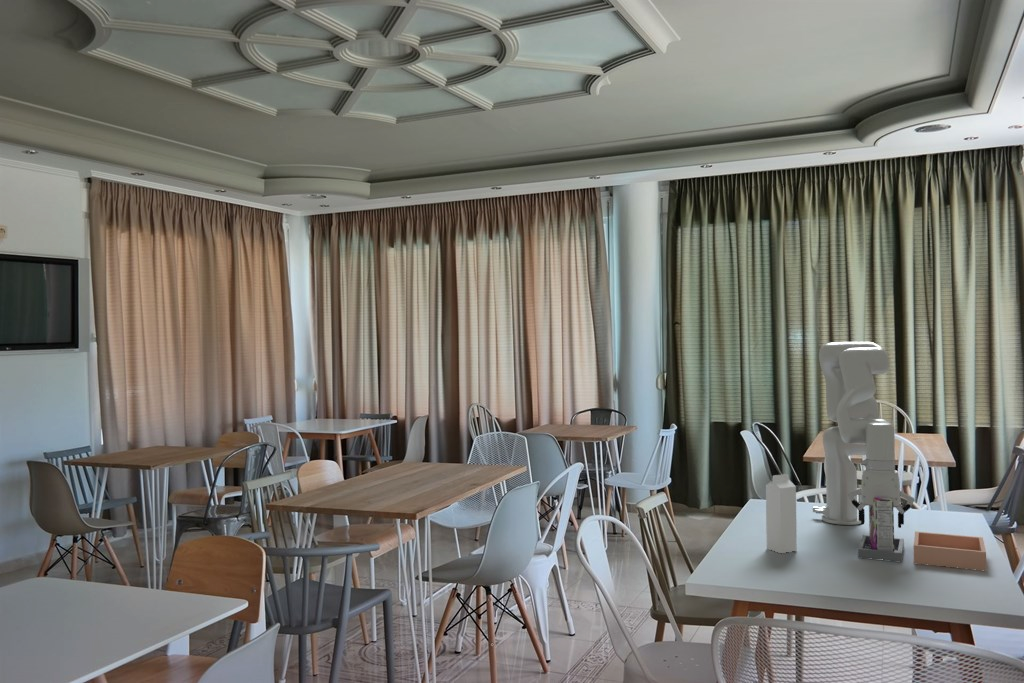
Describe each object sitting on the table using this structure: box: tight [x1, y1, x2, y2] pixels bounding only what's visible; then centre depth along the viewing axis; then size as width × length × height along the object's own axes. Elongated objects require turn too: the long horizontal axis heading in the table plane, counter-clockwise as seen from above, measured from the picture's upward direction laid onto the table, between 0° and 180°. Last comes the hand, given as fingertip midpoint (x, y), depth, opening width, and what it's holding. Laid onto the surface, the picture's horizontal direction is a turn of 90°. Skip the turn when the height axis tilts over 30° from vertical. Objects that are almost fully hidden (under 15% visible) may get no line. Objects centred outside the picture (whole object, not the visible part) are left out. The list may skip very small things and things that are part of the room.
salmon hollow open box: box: [913, 531, 987, 572], centre depth 223 cm, size 17×17×5 cm
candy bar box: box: [868, 497, 895, 552], centre depth 231 cm, size 11×5×16 cm, turn 166°
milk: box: [765, 473, 798, 554], centre depth 235 cm, size 6×6×22 cm
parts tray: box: [857, 534, 905, 563], centre depth 231 cm, size 11×17×2 cm, turn 152°
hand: (881, 525), depth 231 cm, fingers open, 9 cm apart
